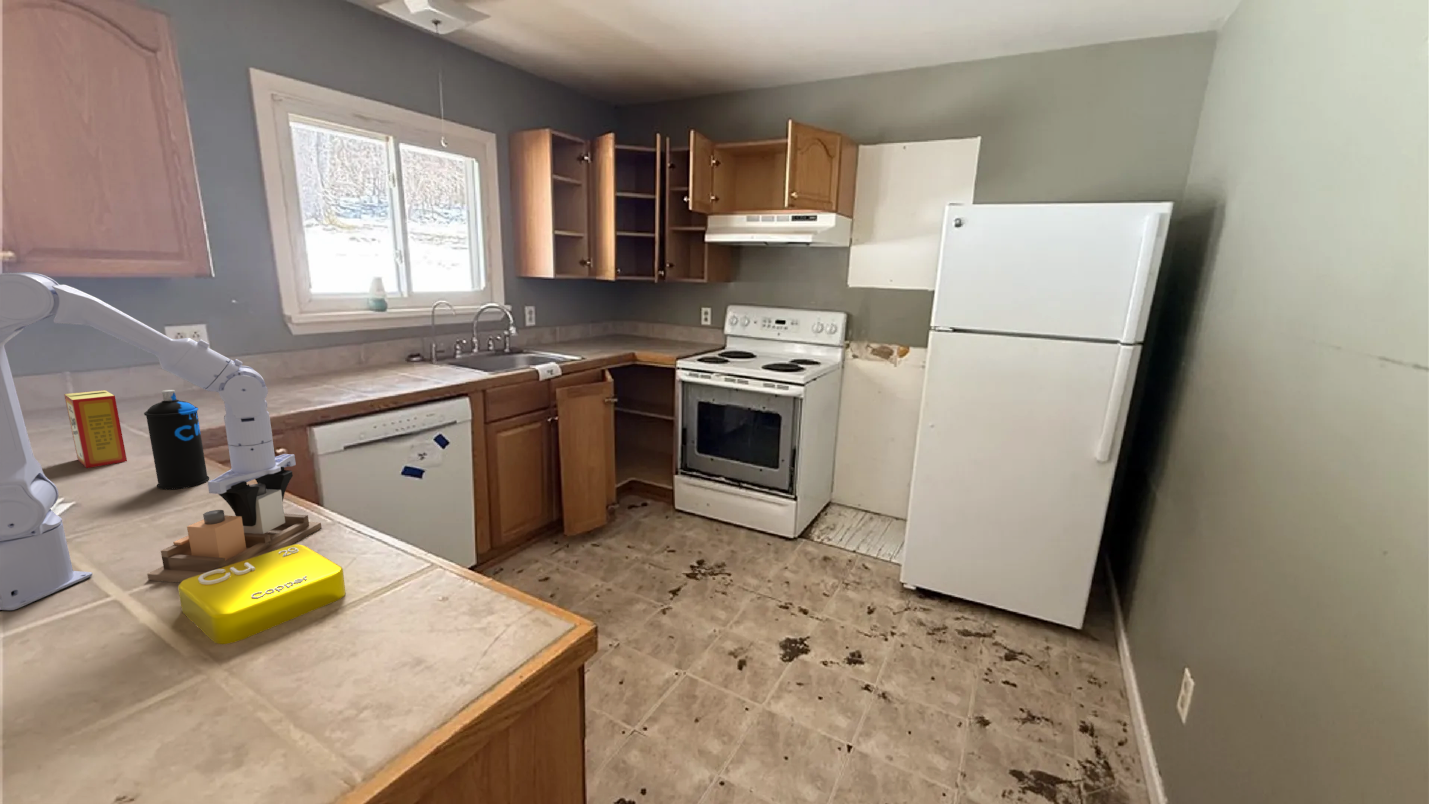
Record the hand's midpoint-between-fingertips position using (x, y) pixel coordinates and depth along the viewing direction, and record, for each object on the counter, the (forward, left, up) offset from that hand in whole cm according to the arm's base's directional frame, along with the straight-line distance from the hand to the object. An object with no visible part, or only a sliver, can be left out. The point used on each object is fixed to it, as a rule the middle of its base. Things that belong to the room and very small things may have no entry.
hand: (261, 519), depth 96 cm
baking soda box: (+32, +69, -4) cm, 76 cm away
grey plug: (0, 0, -2) cm, 2 cm away
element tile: (-17, -16, -4) cm, 23 cm away
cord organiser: (-4, 0, -4) cm, 6 cm away
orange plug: (-8, 0, -3) cm, 9 cm away
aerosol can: (+22, +38, -4) cm, 44 cm away
